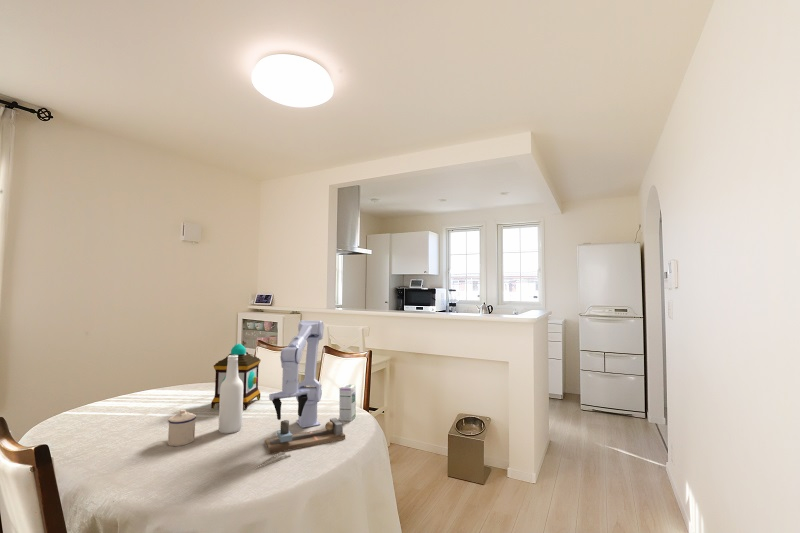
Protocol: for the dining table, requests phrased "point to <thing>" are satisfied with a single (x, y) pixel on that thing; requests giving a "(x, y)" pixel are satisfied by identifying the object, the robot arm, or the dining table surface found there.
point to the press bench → (308, 438)
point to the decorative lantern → (245, 373)
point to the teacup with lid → (181, 428)
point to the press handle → (284, 432)
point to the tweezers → (274, 459)
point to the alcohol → (231, 399)
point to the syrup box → (347, 402)
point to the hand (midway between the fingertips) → (289, 417)
